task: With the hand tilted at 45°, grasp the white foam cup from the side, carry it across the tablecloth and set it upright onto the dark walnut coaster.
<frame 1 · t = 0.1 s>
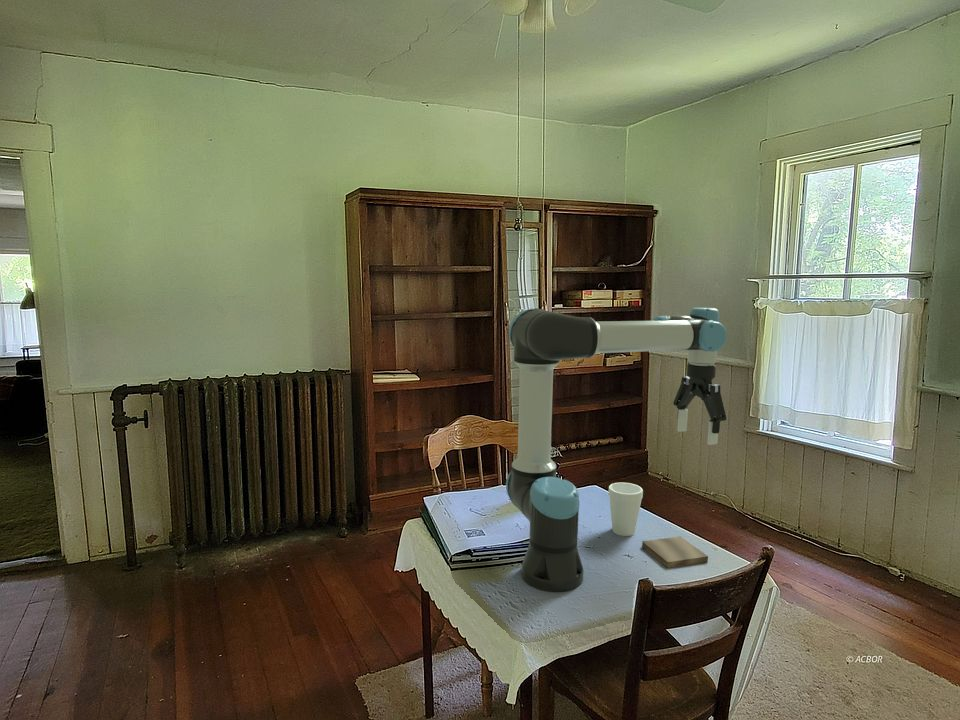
hand: (696, 437, 170), 28 cm above the table, tool pointing down, fingers open, 13 cm apart
walnut coaster: (674, 553, 160), on the table
foam cup: (623, 531, 174), on the table
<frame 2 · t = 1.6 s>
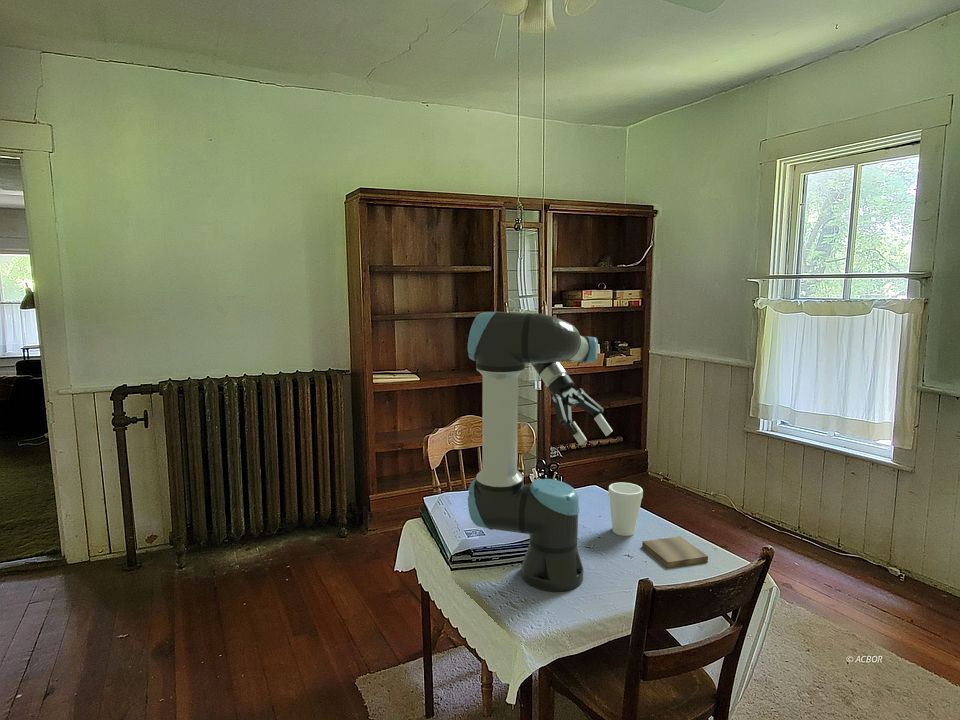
hand: (597, 438, 177), 26 cm above the table, tool tilted 45°, fingers open, 13 cm apart
nothing on the table moved.
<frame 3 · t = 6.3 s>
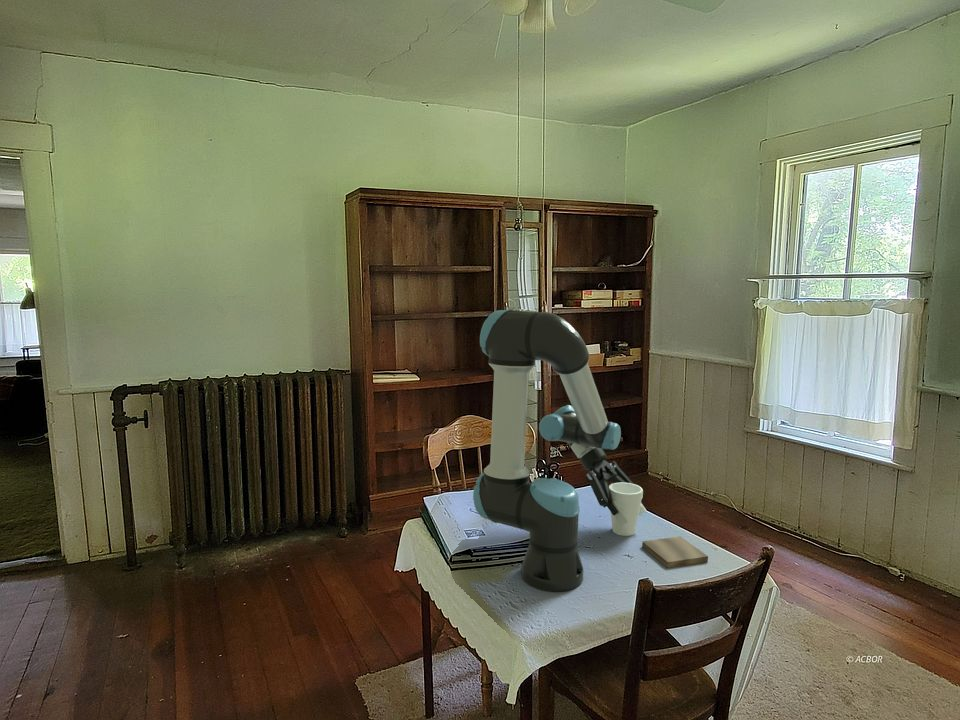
hand: (634, 518, 171), 5 cm above the table, tool tilted 45°, fingers closed on foam cup, 9 cm apart
foam cup: (623, 531, 174), on the table, touching gripper
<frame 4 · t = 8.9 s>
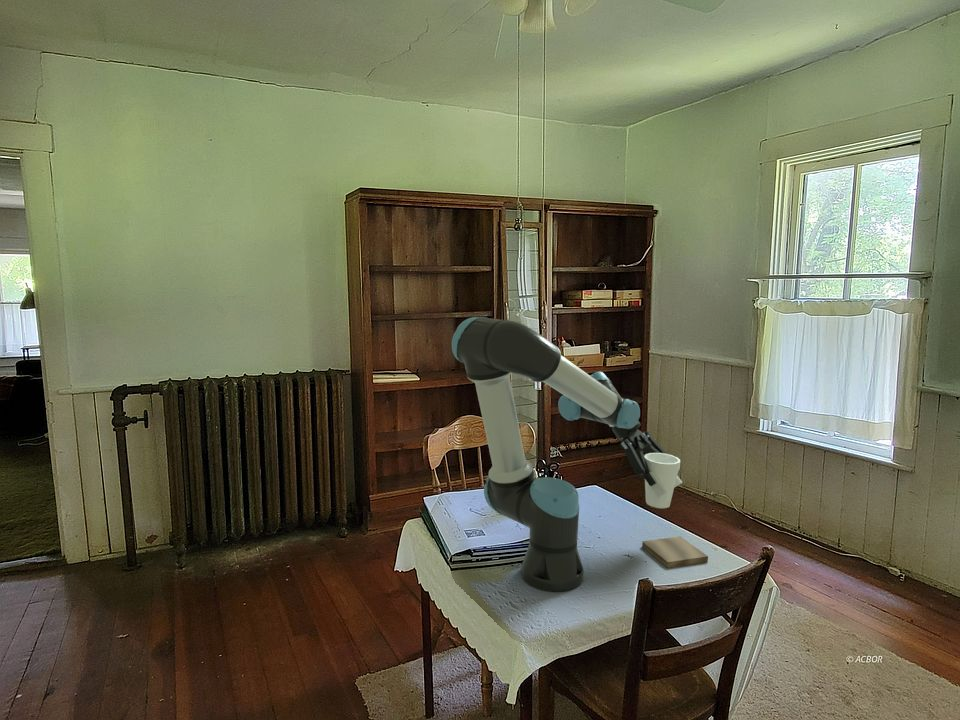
hand: (670, 489, 162), 16 cm above the table, tool tilted 45°, fingers closed on foam cup, 9 cm apart
foam cup: (657, 504, 165), point 11 cm above the table, touching gripper
when the fingers open (8 cm above the table, at t = 11.5 s): foam cup drops 1 cm, resting on walnut coaster.
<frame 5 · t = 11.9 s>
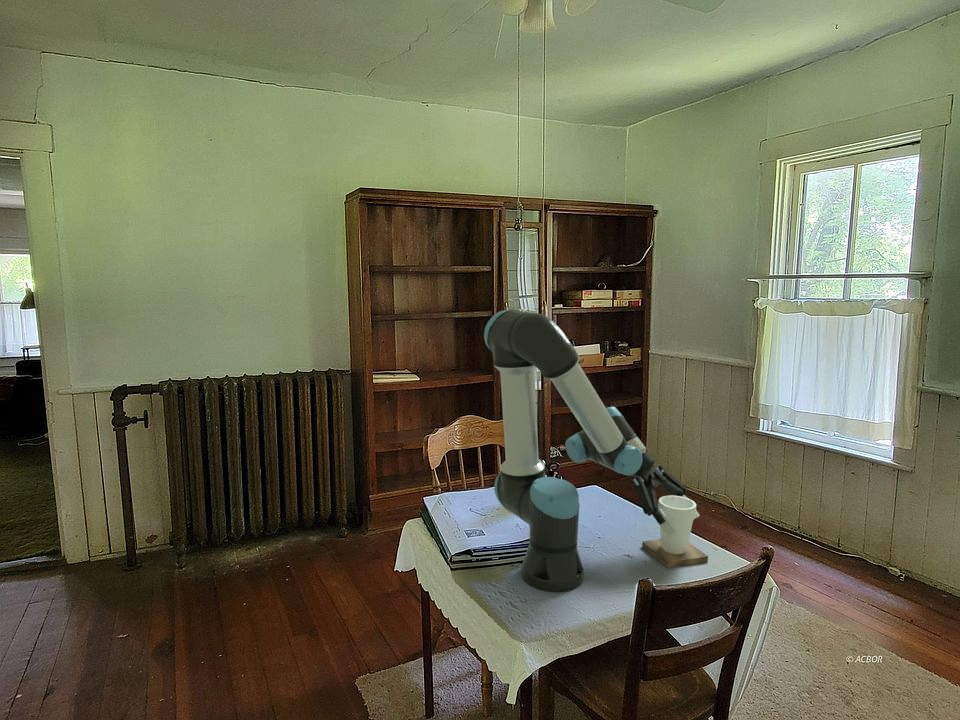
hand: (684, 525, 157), 9 cm above the table, tool tilted 45°, fingers open, 13 cm apart
foam cup: (673, 549, 160), point 1 cm above the table, touching walnut coaster
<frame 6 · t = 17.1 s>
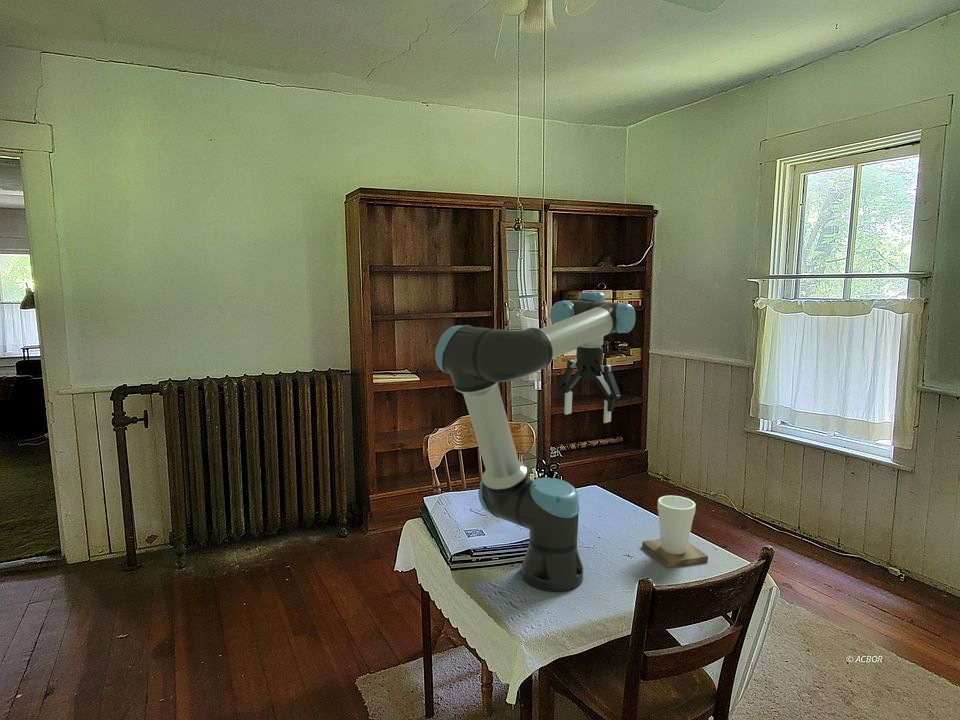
hand: (587, 417, 176), 32 cm above the table, tool pointing down, fingers open, 13 cm apart
nothing on the table moved.
at the end: foam cup 0.2 cm off-centre on the walnut coaster, point 1.3 cm above the walnut coaster's base; foam cup tilted 0°; the gripper is holding nothing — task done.
